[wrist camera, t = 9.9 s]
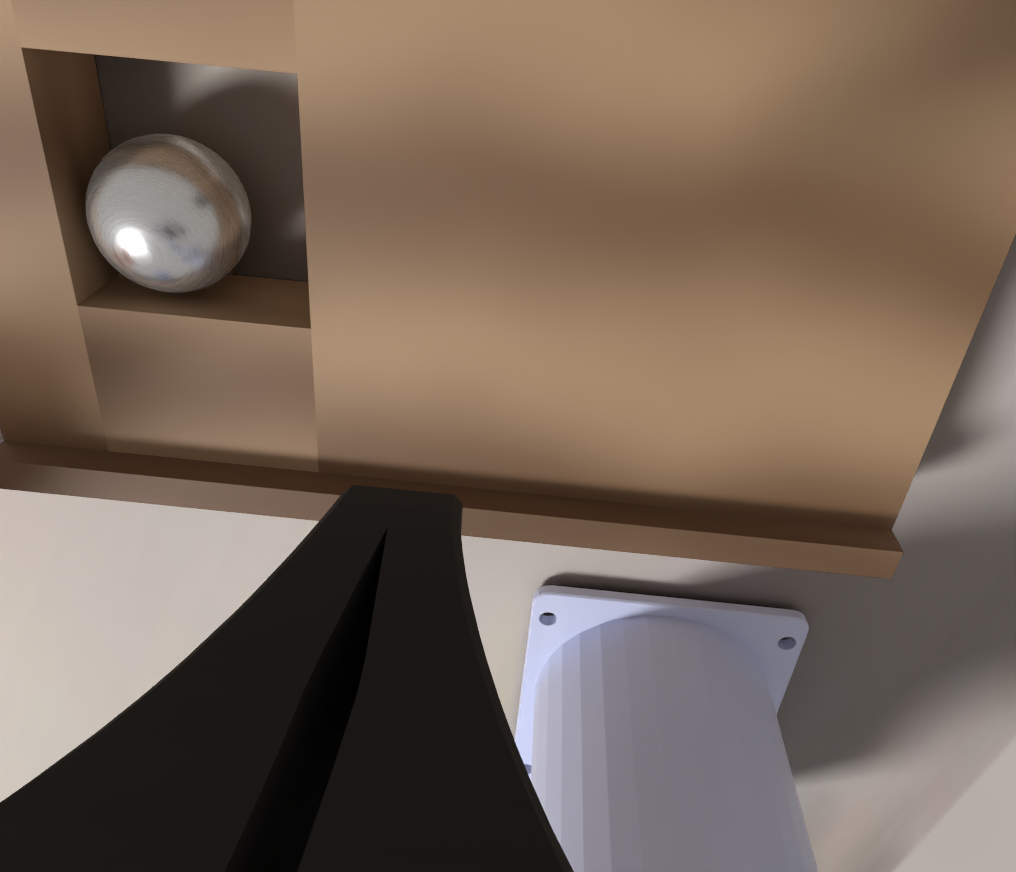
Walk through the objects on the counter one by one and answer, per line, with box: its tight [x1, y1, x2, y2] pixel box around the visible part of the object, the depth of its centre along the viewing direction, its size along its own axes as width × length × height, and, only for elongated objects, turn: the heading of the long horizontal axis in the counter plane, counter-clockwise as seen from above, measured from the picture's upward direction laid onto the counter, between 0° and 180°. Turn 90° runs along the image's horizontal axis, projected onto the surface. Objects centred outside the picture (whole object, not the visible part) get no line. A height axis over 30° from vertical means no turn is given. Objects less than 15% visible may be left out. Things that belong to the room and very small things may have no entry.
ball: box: [85, 134, 252, 293], centre depth 17 cm, size 3×3×3 cm
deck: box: [0, 0, 1016, 579], centre depth 17 cm, size 14×21×3 cm, turn 85°
